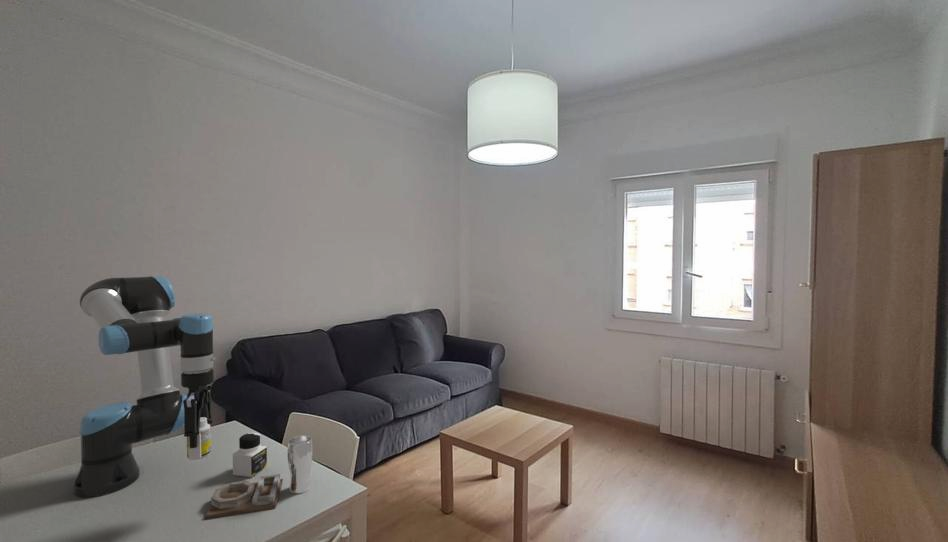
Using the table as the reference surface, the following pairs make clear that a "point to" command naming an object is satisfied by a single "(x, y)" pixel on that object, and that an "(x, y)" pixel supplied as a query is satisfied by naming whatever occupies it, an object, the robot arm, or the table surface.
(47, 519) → the table surface
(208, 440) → the supplement bottle
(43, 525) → the table surface
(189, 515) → the table surface
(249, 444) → the medicine bottle
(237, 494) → the socket board
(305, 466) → the beer glass
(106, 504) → the table surface
